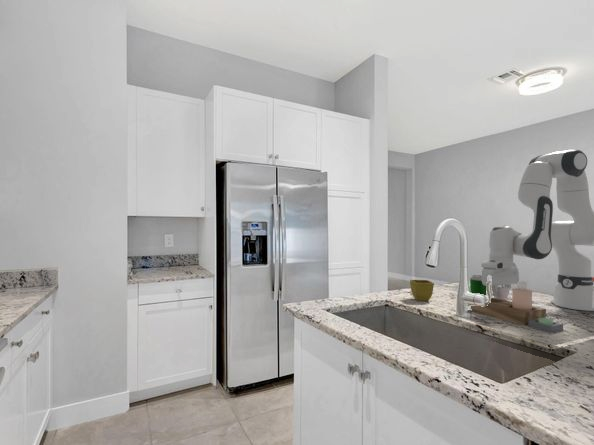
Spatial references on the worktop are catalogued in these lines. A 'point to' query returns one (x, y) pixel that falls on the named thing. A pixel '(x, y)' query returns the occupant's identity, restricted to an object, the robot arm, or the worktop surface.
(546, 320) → the button
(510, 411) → the worktop surface
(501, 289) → the smoothie
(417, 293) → the flower pot
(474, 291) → the soda can
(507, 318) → the pallet
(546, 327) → the button housing
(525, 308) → the bottle
